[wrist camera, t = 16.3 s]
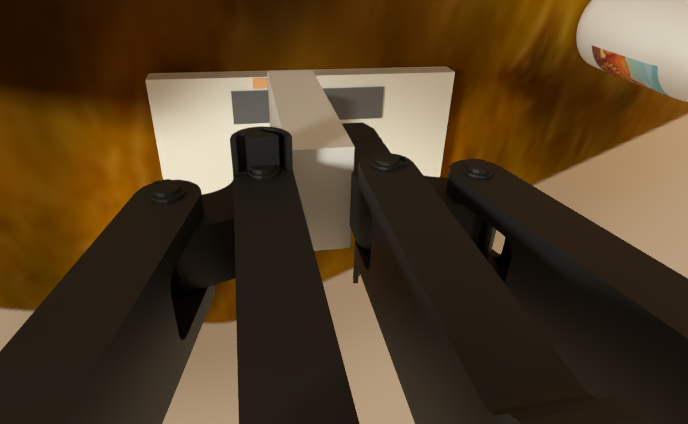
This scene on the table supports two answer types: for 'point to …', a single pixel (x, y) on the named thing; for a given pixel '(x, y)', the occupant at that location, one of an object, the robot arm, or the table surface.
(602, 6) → the milk bottle
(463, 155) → the table surface
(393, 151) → the switch board
